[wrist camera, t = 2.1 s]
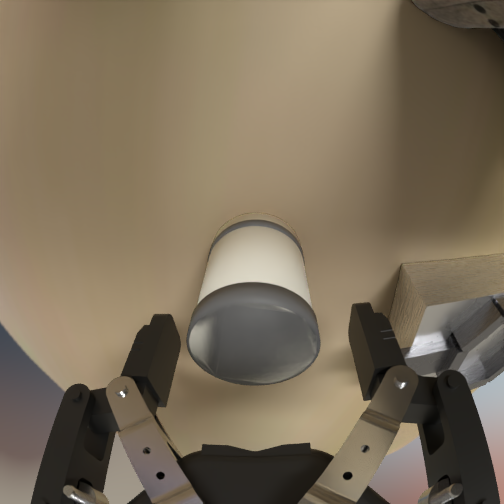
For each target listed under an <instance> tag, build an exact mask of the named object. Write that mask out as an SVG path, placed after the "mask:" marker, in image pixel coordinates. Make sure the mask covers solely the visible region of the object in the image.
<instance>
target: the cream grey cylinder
mask: <svg viewBox="0 0 504 504" xmlns="http://www.w3.org/2000/svg"><path fill="white" fill-rule="evenodd" d="M304 266H305V265H304V257H303V252H302V248H301V246H300V242H299V239H298V237H297V235H296V233H295V231H294V230H293V229H292V228H291V227H290V226H289V225H288V224H287V223H286V222H284V221H283V220H281V219H280V218H278V217H275V216H273V215H269V214H265V213H247V214H243V215H240V216H237V217H235V218H233V219H231V220H229V221H228V222H227V223H225V224H224V225H223V226H222V227H221V228H220V230H219V231H218V232H217V234H216V236H215V239H214V242H213V244H212V246H211V249H210V253H209V257H208V264H207V268H206V272H205V276H204V280H203V284H202V287H201V291H200V295H199V299H198V303H197V306H196V308H195V309H194V311H193V314H192V317H191V321H190V325H189V329H188V334H187V348H188V351H189V353H190V355H191V357H192V358H193V360H194V361H195V362H196V363H197V365H198V366H200V367H201V368H202V369H203V370H204V371H206V372H207V373H209V374H211V375H213V376H214V377H217V378H219V379H221V380H224V381H227V382H231V383H235V384H241V385H269V384H275V383H279V382H283V381H286V380H289V379H291V378H293V377H295V376H297V375H299V374H301V373H302V372H304V371H305V370H306V369H307V368H308V367H310V366H311V364H312V363H313V362H314V361H315V359H316V358H317V356H318V353H319V350H320V336H319V330H318V324H317V319H316V316H315V313H314V311H313V309H312V305H311V299H310V293H309V288H308V283H307V277H306V272H305V267H304Z"/></svg>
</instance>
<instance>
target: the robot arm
mask: <svg viewBox="0 0 504 504" xmlns="http://www.w3.org/2000/svg"><path fill="white" fill-rule="evenodd" d="M348 333H349V342H350V346H351V350H352V354H353V358H354V362H355V366H356V370H357V374H358V378H359V382H360V387H361V391H362V396H363V400H364V401H367V400H371V402H370V404H369V406H368V407H367V409H366V411H365V412H363V414H362V415H361V417H360V418H359V420H358V422H357V423H356V425H355V426H354V428H353V430H352V431H351V433H350V434H349V436H348V437H347V439H346V440H345V442H344V443H343V445H342V446H341V448H340V449H339V451H338V452H337V454H336V455H335V457H334V456H332V455H330V454H328V453H326V452H323V451H320V450H316V449H311V448H310V443H301V444H287V445H280V446H277V447H273V448H269V449H265V450H261V451H249V450H245V449H241V448H236V447H232V446H229V445H207V444H202V450H201V451H197V452H193V453H191V454H188V455H186V456H184V457H183V456H182V455H181V453H180V452H179V451H178V449H177V448H176V446H175V445H174V443H173V442H172V440H171V438H170V437H169V435H168V433H167V432H166V430H165V428H164V426H163V425H162V423H161V421H160V419H159V418H158V416H157V414H156V411H157V407H166V405H167V401H168V397H169V392H170V388H171V384H172V380H173V376H174V372H175V368H176V364H177V360H178V356H179V352H180V348H181V341H180V336H179V334H178V331H177V328H176V326H175V323H174V320H173V317H172V315H171V314H154V315H153V317H152V320H151V322H150V325H144V326H143V328H142V329H141V330H140V331H139V332H138V333H137V335H136V338H135V340H134V344H133V345H132V348H131V351H130V353H129V355H128V358H127V361H126V363H125V366H124V368H123V371H122V374H121V376H120V377H117V378H115V379H113V380H112V381H111V382H110V383H109V384H108V386H107V388H102V389H96V390H89V389H88V387H87V386H86V385H84V384H75V385H72V386H71V387H69V388H68V389H67V391H66V392H65V394H64V397H63V399H62V402H61V405H60V407H59V410H58V413H57V416H56V418H55V421H54V424H53V427H52V430H51V433H50V436H49V439H48V442H47V445H46V448H45V452H44V455H43V458H42V462H41V466H40V469H39V472H38V476H37V480H36V484H35V488H34V492H33V496H32V500H31V504H109V501H108V499H107V498H106V496H105V495H104V494H103V490H104V485H105V479H106V474H107V469H108V464H109V460H110V455H111V451H112V446H113V442H114V437H115V433H116V431H119V432H118V434H119V437H120V440H121V442H122V444H123V447H124V449H125V451H126V453H127V455H128V457H129V459H130V462H131V464H132V466H133V467H134V470H135V472H136V474H137V476H138V478H139V479H140V481H141V483H142V485H143V487H144V489H145V490H143V491H142V492H141V493H140V494H138V495H137V496H136V497H135V498H134V499H132V500H131V501H130V502H129V503H127V504H390V503H389V502H387V501H386V500H385V499H384V498H382V497H381V496H380V495H379V494H378V493H376V492H375V491H374V490H373V489H372V488H370V487H369V486H368V484H369V482H370V481H371V479H372V478H373V476H374V474H375V473H376V471H377V469H378V467H379V466H380V464H381V462H382V460H383V459H384V457H385V455H386V453H387V451H388V450H389V448H390V446H391V444H392V442H393V440H394V438H395V436H396V434H397V432H398V430H399V428H400V424H401V422H404V423H417V426H418V430H419V435H420V440H421V445H422V450H423V456H424V461H425V467H426V473H427V480H428V487H429V488H428V489H427V490H426V491H424V492H423V493H422V495H421V496H420V498H419V500H418V504H500V499H499V493H498V487H497V482H496V477H495V473H494V468H493V464H492V460H491V456H490V452H489V448H488V444H487V441H486V437H485V434H484V430H483V427H482V424H481V420H480V417H479V414H478V411H477V408H476V405H475V403H474V400H473V397H472V394H471V391H470V388H469V386H468V383H467V380H466V378H465V377H464V375H463V374H461V373H460V372H458V371H456V370H446V371H444V372H442V373H441V374H440V375H439V377H427V376H420V375H417V374H416V372H415V371H414V370H413V369H411V368H410V367H408V366H407V365H406V362H405V360H404V357H403V354H402V352H401V349H400V346H399V344H398V341H397V339H396V338H395V334H394V331H393V330H392V326H391V324H390V322H389V320H388V319H387V318H386V317H385V316H384V315H383V314H382V313H374V312H373V309H372V306H371V304H370V303H369V302H366V303H357V304H353V305H352V309H351V316H350V322H349V330H348Z"/></svg>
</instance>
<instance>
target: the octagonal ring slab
mask: <svg viewBox="0 0 504 504" xmlns="http://www.w3.org/2000/svg"><path fill="white" fill-rule="evenodd" d="M389 322H390V324H391V326H392V330H393V331H394V334H395V338H396V339H397V341H398V344H399V346H400V349H401V352H402V354H403V357H404V360H405V362H406V365H407V366H408V367H410V368H411V369H413V370H414V371H415V372H416V374H417V375H420V376H427V377H439V375H440V374H441V373H442V372H444V371H446V370H456V371H458V372H460V373H461V374H463V375H464V377H465V378H466V380H467V383H468V386H469V388H470V390H472V389H474V388H477V387H480V386H483V385H485V384H486V383H487V382H490V381H492V380H493V379H494V378H496V377H497V376H498V375H500V374H501V373H502V372H503V371H504V254H497V255H488V256H479V257H470V258H460V259H450V260H440V261H430V262H419V263H408V264H402V265H401V270H400V275H399V279H398V284H397V288H396V292H395V296H394V301H393V305H392V308H391V312H390V316H389Z"/></svg>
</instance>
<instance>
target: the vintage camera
mask: <svg viewBox="0 0 504 504" xmlns="http://www.w3.org/2000/svg"><path fill="white" fill-rule="evenodd" d="M412 1H413V3H414V4H415V5H416V7H418V8H419V9H421V10H422V11H423V12H425V13H426V14H428V15H429V16H431V17H433V18H434V19H436V20H437V21H440V22H443V23H445V24H448V25H451V26H453V27H460V28H491V29H493V30H494V32H495V33H496V34H497V35H498V36H499V37H500V38H501V39H502V41H503V42H504V0H412Z"/></svg>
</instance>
